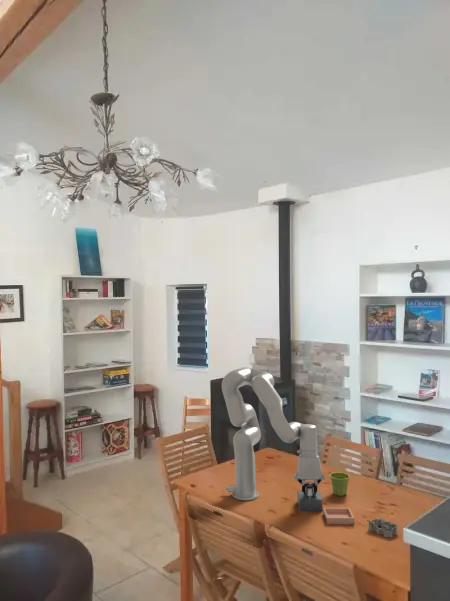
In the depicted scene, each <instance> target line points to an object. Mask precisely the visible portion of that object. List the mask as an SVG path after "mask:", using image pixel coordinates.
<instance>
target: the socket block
mask: <svg viewBox="0 0 450 601" xmlns="http://www.w3.org/2000/svg"><path fill="white" fill-rule="evenodd" d="M296 493H297V504H298V509H299V512H300V511H301V512H304V511H305V512H310V511H311V512H323V508H324V506H323V504H324V503H323V497H322V494H321V492H320V490H317V492H316V495H315V494H314V490H313V497H306V494H305V495H304V493H303V492H302V490H297V492H296Z"/></svg>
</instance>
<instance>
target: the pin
mask: <svg viewBox="0 0 450 601" xmlns="http://www.w3.org/2000/svg"><path fill="white" fill-rule="evenodd" d="M305 486H306V497H313V491H314V488H313V487H314V482H312V481H305Z"/></svg>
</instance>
